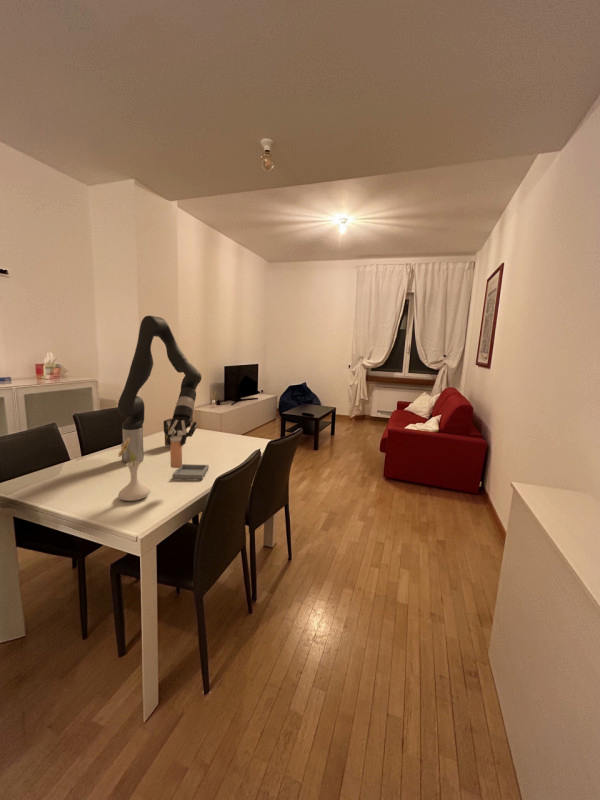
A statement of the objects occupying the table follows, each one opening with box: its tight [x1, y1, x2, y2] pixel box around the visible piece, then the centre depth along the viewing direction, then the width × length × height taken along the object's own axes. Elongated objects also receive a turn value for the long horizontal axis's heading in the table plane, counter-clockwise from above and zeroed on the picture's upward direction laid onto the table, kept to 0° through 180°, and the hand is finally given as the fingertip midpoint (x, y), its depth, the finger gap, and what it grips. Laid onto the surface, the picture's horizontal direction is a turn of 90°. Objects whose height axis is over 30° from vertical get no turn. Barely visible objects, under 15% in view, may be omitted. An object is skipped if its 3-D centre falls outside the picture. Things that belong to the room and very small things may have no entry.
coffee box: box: [164, 418, 183, 447], centre depth 194 cm, size 9×6×16 cm
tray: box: [172, 463, 210, 481], centre depth 154 cm, size 13×13×2 cm
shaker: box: [169, 436, 183, 469], centre depth 134 cm, size 5×5×12 cm
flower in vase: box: [117, 437, 151, 502], centre depth 126 cm, size 13×11×25 cm
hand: (175, 444), depth 132 cm, fingers closed on shaker, 4 cm apart
